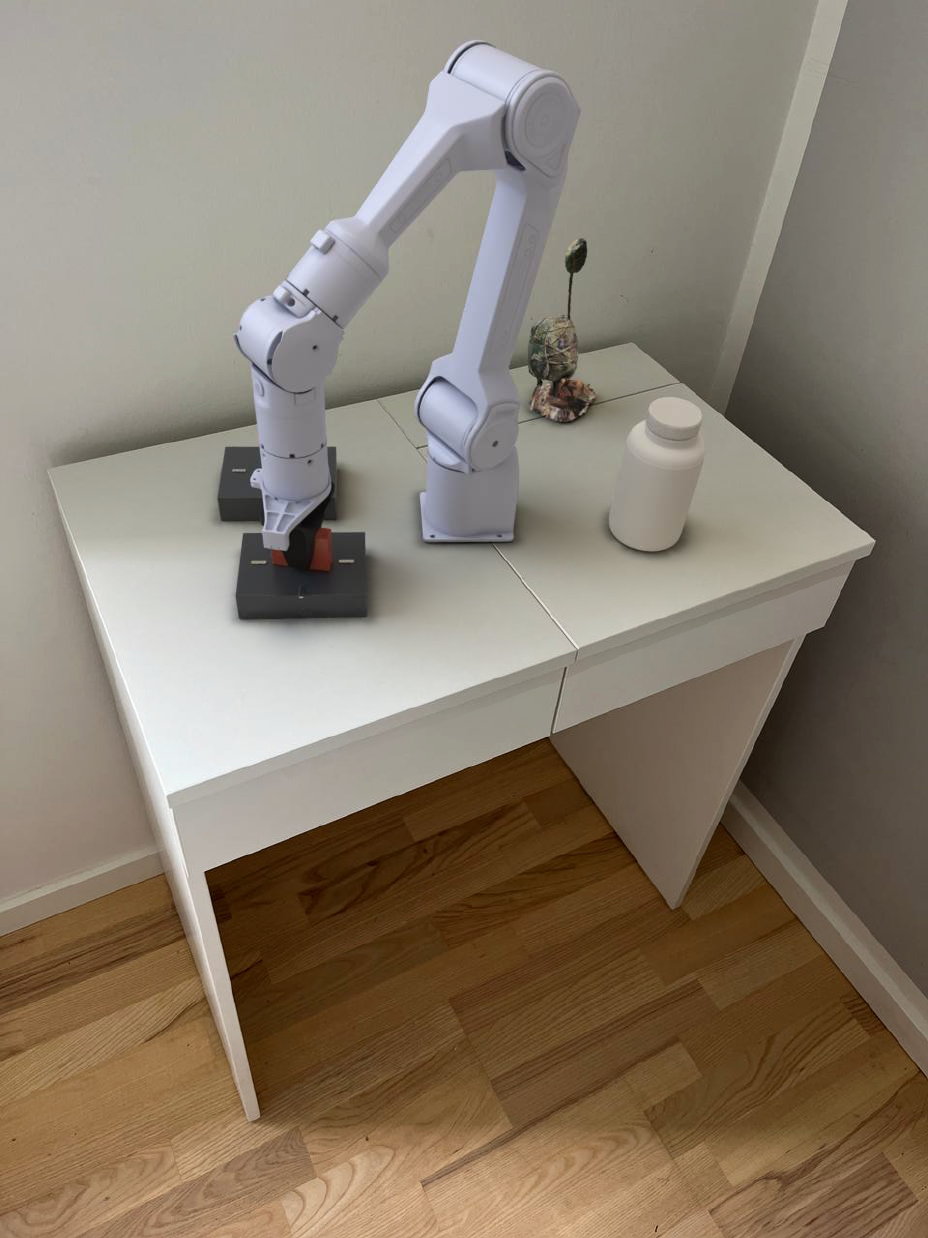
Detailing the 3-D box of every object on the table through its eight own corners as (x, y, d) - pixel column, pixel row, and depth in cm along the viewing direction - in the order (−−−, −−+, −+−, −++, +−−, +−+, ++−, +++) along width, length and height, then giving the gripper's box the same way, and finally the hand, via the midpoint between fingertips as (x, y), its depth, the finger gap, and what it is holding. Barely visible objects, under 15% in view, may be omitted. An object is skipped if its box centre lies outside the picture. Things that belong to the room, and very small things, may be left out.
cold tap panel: (337, 466, 107) (336, 443, 104) (336, 522, 100) (335, 498, 98) (228, 466, 105) (225, 443, 103) (220, 522, 99) (216, 498, 96)
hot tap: (332, 560, 91) (331, 526, 88) (329, 571, 90) (327, 537, 87) (276, 553, 91) (273, 519, 88) (272, 564, 90) (268, 530, 87)
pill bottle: (679, 559, 99) (715, 440, 88) (603, 546, 100) (630, 426, 89) (682, 513, 105) (717, 395, 94) (610, 500, 105) (636, 382, 95)
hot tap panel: (365, 551, 97) (365, 528, 95) (366, 619, 90) (366, 595, 88) (246, 553, 96) (242, 529, 93) (238, 621, 89) (234, 597, 87)
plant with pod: (500, 403, 118) (516, 245, 104) (568, 377, 123) (592, 224, 109) (542, 435, 114) (564, 275, 99) (611, 407, 119) (641, 252, 104)
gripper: (271, 387, 86) (282, 505, 96) (220, 483, 76) (238, 604, 85) (347, 397, 86) (350, 514, 95) (306, 495, 75) (314, 615, 85)
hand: (302, 557), depth 90 cm, fingers closed on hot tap, 2 cm apart
